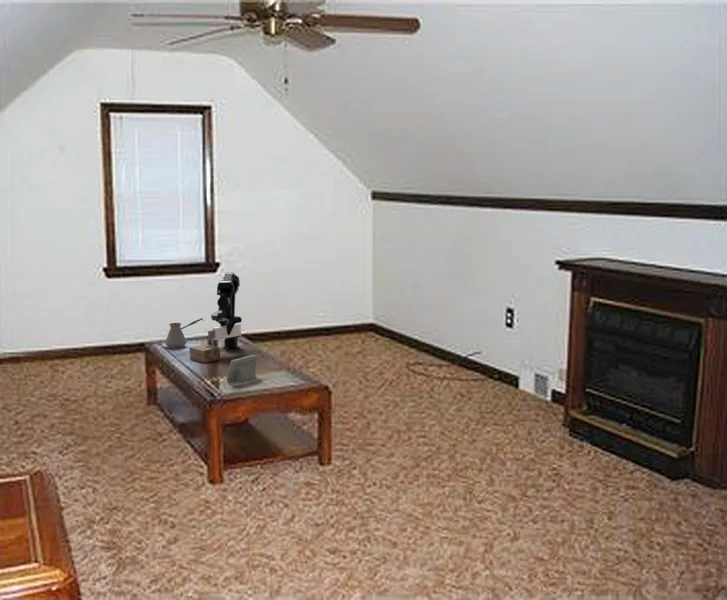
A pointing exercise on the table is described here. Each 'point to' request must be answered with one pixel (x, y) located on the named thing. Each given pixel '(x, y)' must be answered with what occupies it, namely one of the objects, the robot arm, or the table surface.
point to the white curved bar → (224, 332)
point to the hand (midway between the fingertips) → (226, 334)
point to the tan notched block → (205, 353)
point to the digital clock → (242, 369)
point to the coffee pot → (177, 335)
